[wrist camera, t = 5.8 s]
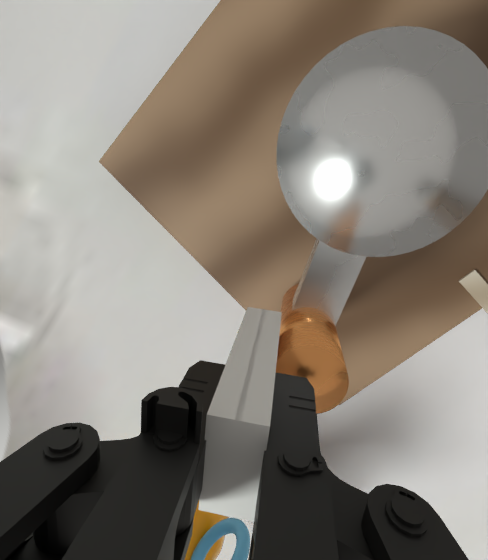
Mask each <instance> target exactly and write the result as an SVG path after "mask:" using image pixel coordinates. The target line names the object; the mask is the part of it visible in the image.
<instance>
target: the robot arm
mask: <svg viewBox="0 0 488 560" xmlns="http://www.w3.org/2000/svg"><path fill="white" fill-rule="evenodd" d="M281 315H282V312H278V311H271V310H265V309H258V308H252V307H248V308H247V310H246V313H245V316H244V318H243V321H242V323H241V326H240V329H239V331H238V334H237V337H236V339H235V342H234V344H233V347H232V350H231V352H230V355H229V357H228V360H227V363H226V365H223V364H218V363H212V362H206V361H199V362H197V363H196V364H194V365H193V366H191V367H190V368H189V369H188V371H187V373H186V375H185V376H184V379H183V380H182V382H181V383H180V385H179V388H178V387H168V388H162V389H158V390H156V391H154V392H151V393H149V394H148V395H147V396H146V397H145V398H144V399H142V408H141V433H140V435H139V436H137V437H134V438H131V439H124V440H111V441H100V439H99V436H98V433H97V431H96V430H95V429H94V428H93V427H91V426H90V425H86V424H82V423H66V424H63V425H59V426H56V427H53V428H51V429H49V430H47V431H45V432H43V433H41V434H40V435H38V436H37V437H35V438H34V439H33V440H31V441H30V442H28V443H27V444H25V445H24V446H23V447H21V448H20V449H18V450H17V451H15V452H14V453H13V454H11V455H10V456H8V457H7V458H5V459H4V460H3V461H1V462H0V560H185V557H186V553H187V550H188V547H189V543H190V540H191V536H192V530H193V520H194V514H195V511H196V508H197V504H198V501H199V508H198V510H201V511H206V512H210V513H215V514H219V515H223V516H228V517H232V518H237V519H241V520H245V521H250V522H254V526H253V534H252V540H251V547H250V553H249V559H248V560H468V558H467V557H466V555H465V554H464V552H463V551H462V549H461V548H460V546H459V545H458V543H457V542H456V540H455V539H454V537H453V536H452V534H451V533H450V531H449V530H448V528H447V527H446V525H445V524H444V522H443V521H442V519H441V518H440V516H439V515H438V514H437V513H436V512H435V510H434V509H433V508H432V507H431V506H430V505H429V503H428V502H426V501H425V500H424V499H422V498H421V497H420V496H418V495H417V494H416V493H414V492H412V491H410V490H408V489H405V488H403V487H401V486H396V485H390V484H385V485H380V486H376V487H375V488H374V489H373V490H372V491H371V492H370V493H369V494H367V493H365V492H363V491H361V490H359V489H357V488H354V487H352V486H350V485H349V484H347V483H345V482H343V481H342V480H340V479H339V478H338V477H336V476H335V475H334V474H333V473H332V472H331V471H330V470H329V469H328V467H327V465H326V462H325V459H324V458H323V457H322V456H321V453H320V446H319V436H318V425H317V414H316V403H315V393H314V388H313V386H312V385H311V384H310V382H309V381H308V379H307V378H305V377H299V376H293V375H287V374H282V373H276V363H277V354H278V344H279V334H280V324H281Z"/></svg>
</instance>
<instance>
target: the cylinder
mask: <svg viewBox="0 0 488 560" xmlns="http://www.w3.org/2000/svg"><path fill="white" fill-rule="evenodd" d="M198 508H199V501H198V504H197V508H196V511H195V514H194V520H193V530H192V536H191V540H190V543H189V547H188V550H187V553H186V557H185V560H215V559H216V558H217V557H218V555H219V553H220V551H221V549H222V546H223V542H224V538H225V535H226V534H229V533H233V534H235V535H236V539H237V542H236V548H235V551H234V554H233V556H232V558H231V560H247V558H248V554H249V549H250V535H249V531H248V529H247V527H246V525H245V524H244V523H243V522H242V521H241V520H239V519H237V518H229V517H228V516H223V515H219V514H215V513H210V512H206V511H201V510H198Z"/></svg>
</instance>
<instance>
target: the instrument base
mask: <svg viewBox="0 0 488 560" xmlns="http://www.w3.org/2000/svg"><path fill="white" fill-rule="evenodd" d="M397 26H412V27H422V28H427V29H432V30H436V31H438V32H441V33H444V34H446V35H449V36H451V37H453V38H454V39H456V40H458V41H459V42H461V43H463V44H464V45H465V46H467V47H468V48H469V49H470V50H471V51H473V52H474V53H475V54H476V55H477V56H478V57H479V59H480V60H481V61H482V62H483V63H484V64H485V65H486V67H487V69H488V0H221V1H220V2H219V3H218V5H217V6H216V7H215V9H214V10H213V11H212V13H211V14H210V15H209V17H208V18H207V19H206V21H205V22H204V23H203V25H202V26H201V27H200V29H199V30H198V31H197V32H196V34H195V35H194V36H193V38H192V39H191V40H190V42H189V43H188V44H187V46H186V47H185V48H184V50H183V51H182V52H181V54H180V55H179V56H178V58H177V59H176V60H175V62H174V63H173V64H172V65H171V67H170V68H169V69H168V71H167V72H166V73H165V75H164V76H163V77H162V79H161V80H160V81H159V83H158V84H157V85H156V87H155V88H154V89H153V91H152V92H151V93H150V95H149V96H148V97H147V99H146V100H145V101H144V102H143V104H142V105H141V106H140V108H139V109H138V110H137V112H136V113H135V114H134V116H133V117H132V118H131V120H130V121H129V122H128V124H127V125H126V126H125V128H124V129H123V130H122V132H121V133H120V134H119V136H118V137H117V138H116V139H115V141H114V142H113V143H112V145H111V146H110V147H109V149H108V150H107V151H106V153H105V154H104V155H103V157H102V158H101V159H100V161H99V162H100V163H101V164H102V165H103V166H104V167H105V168H106V169H107V170H108V171H109V172H110V173H111V174H112V175H113V176H114V177H115V178H116V180H117V181H118V182H119V183H120V184H121V185H122V186H123V187H124V188H125V189H126V190H127V191H128V192H129V193H130V194H131V195H132V196H133V197H134V198H135V199H136V200H137V201H138V202H139V203H140V204H141V205H142V206H143V207H144V208H145V209H146V210H147V211H148V212H149V213H150V214H151V215H152V216H153V217H154V218H155V219H156V220H157V221H158V222H159V223H160V224H161V225H162V226H163V227H164V228H165V229H166V230H167V231H168V232H169V233H170V234H171V235H172V236H173V237H174V238H175V239H176V240H177V241H178V242H179V243H180V244H181V245H182V246H183V247H184V248H185V249H186V250H187V251H188V252H189V253H190V254H191V255H192V256H193V257H194V258H195V259H196V260H197V261H198V262H199V263H200V264H201V265H202V266H203V267H204V268H205V269H206V270H207V272H208V273H209V274H210V275H211V276H212V277H213V278H214V279H215V280H216V281H217V282H218V283H219V284H220V285H221V286H222V287H223V288H224V289H225V290H226V291H227V292H228V293H229V294H230V295H231V296H232V297H233V298H234V299H235V300H236V301H237V302H238V303H239V304H240V305H241V306H242V307H243V308H244V309H245V310H247V308H248V307H252V308H258V309H265V310H271V311H278V312H281V305H282V300H283V297H284V295H285V293H286V292H287V291H288V290H289V289H290V288H291V287H292V286H294V285H297V284H299V282H300V279H301V277H302V274H303V272H304V269H305V267H306V264H307V262H308V259H309V256H310V254H311V251H312V249H313V246H314V244H315V241H316V239H317V238H316V237H314V236H313V235H312V234H310V233H309V232H308V231H307V230H306V229H305V228H304V227H303V226H302V225H301V224H300V222H299V221H298V220H297V218H296V217H295V216H294V214H293V213H292V211H291V209H290V208H289V206H288V204H287V202H286V200H285V197H284V195H283V192H282V190H281V186H280V182H279V178H278V171H277V142H278V134H279V130H280V126H281V122H282V119H283V116H284V113H285V111H286V108H287V106H288V103H289V102H290V100H291V98H292V96H293V94H294V92H295V90H296V89H297V87H298V86H299V85H300V83H301V82H302V80H303V79H304V77H305V76H306V75H307V74H308V73H309V72H310V70H311V69H312V68H313V67H314V66H315V65H316V64H317V63H318V62H319V61H320V60H321V59H323V58H324V57H325V56H326V55H327V54H328V53H330V52H331V51H333V50H334V49H336V48H337V47H338V46H340V45H341V44H343V43H345V42H347V41H349V40H351V39H353V38H355V37H357V36H359V35H362V34H365V33H367V32H370V31H374V30H378V29H382V28H387V27H397ZM482 308H483V309H484V310H485V311H486V312H487V313H488V190H487V191H486V193H485V195H484V196H483V198H482V199H481V201H480V202H479V203H478V205H477V206H476V207H475V208H474V210H473V211H472V212H471V213H470V214H469V215H468V216H467V217H466V218H465V219H464V220H463V221H462V222H461V223H460V224H459V225H458V226H457V227H455V228H454V229H453V230H452V231H450V232H449V233H448V234H446V235H445V236H443V237H442V238H440V239H438V240H437V241H435V242H433V243H431V244H429V245H427V246H425V247H423V248H420V249H417V250H414V251H412V252H409V253H404V254H400V255H396V256H387V257H366V259H365V261H364V263H363V266H362V268H361V270H360V272H359V275H358V277H357V279H356V281H355V284H354V286H353V288H352V290H351V292H350V295H349V297H348V299H347V301H346V304H345V306H344V308H343V310H342V313H341V315H340V317H339V319H338V321H337V324H336V330H337V334H338V338H339V342H340V346H341V349H342V353H343V357H344V361H345V365H346V369H347V373H348V377H349V387H348V391H347V393H346V395H345V397H344V399H343V400H342V401H341V402H340V403H339V405H340V404H342V403H343V402H345V401H346V400H348V399H349V398H351V397H352V396H354V395H355V394H357V393H358V392H359V391H361V390H362V389H364V388H365V387H367V386H368V385H370V384H371V383H373V382H374V381H376V380H377V379H379V378H380V377H382V376H383V375H384V374H386V373H387V372H389V371H390V370H392V369H393V368H395V367H396V366H398V365H399V364H401V363H402V362H404V361H405V360H407V359H408V358H410V357H411V356H412V355H414V354H415V353H417V352H418V351H420V350H421V349H423V348H424V347H426V346H427V345H429V344H430V343H432V342H433V341H435V340H436V339H437V338H439V337H440V336H442V335H443V334H445V333H446V332H448V331H449V330H451V329H452V328H454V327H455V326H457V325H458V324H460V323H461V322H462V321H464V320H465V319H467V318H468V317H470V316H471V315H473V314H474V313H476V312H477V311H479V310H480V309H482Z"/></svg>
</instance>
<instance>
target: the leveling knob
mask: <svg viewBox="0 0 488 560" xmlns="http://www.w3.org/2000/svg"><path fill="white" fill-rule="evenodd" d="M277 171H278V178H279V182H280V186H281V190H282V192H283V195H284V197H285V200H286V202H287V204H288V206H289V208H290V209H291V211H292V213H293V214H294V216H295V217H296V218H297V220H298V221H299V222H300V224H301V225H302V226H303V227H304V228H305V229H306V230H307V231H308V232H309V233H310V234H312V235H313V236H314V237H316V238H317V239H316V241H315V244H314V246H313V249H312V251H311V254H310V256H309V259H308V262H307V264H306V267H305V269H304V272H303V274H302V277H301V279H300V282H299V284H297V285H294V286H292V287H291V288H290V289H289V290H288V291H287V292H286V293H285V295H284V297H283V300H282V305H281V312H282V315H281V324H280V334H279V344H278V354H277V363H276V373H282V374H287V375H293V376H299V377H305V378H307V379H308V381H309V382H310V384H311V385H312V386H313V388H314V393H315V403H316V414H318V413H323V412H326V411H329V410H331V409H333V408H334V407H336V406H337V405H338V404H339V403H340V402H341V401H342V400H343V399H344V397H345V395H346V393H347V391H348V387H349V377H348V373H347V369H346V365H345V361H344V357H343V353H342V349H341V346H340V342H339V338H338V334H337V330H336V324H337V321H338V319H339V317H340V315H341V313H342V310H343V308H344V306H345V304H346V301H347V299H348V297H349V295H350V292H351V290H352V288H353V286H354V284H355V281H356V279H357V277H358V275H359V272H360V270H361V268H362V266H363V263H364V261H365V259H366V257H387V256H396V255H400V254H404V253H409V252H412V251H414V250H417V249H420V248H423V247H425V246H427V245H429V244H431V243H433V242H435V241H437V240H438V239H440V238H442V237H443V236H445V235H446V234H448V233H449V232H450V231H452V230H453V229H454V228H455V227H457V226H458V225H459V224H460V223H461V222H462V221H463V220H464V219H465V218H466V217H467V216H468V215H469V214H470V213H471V212H472V211H473V210H474V208H475V207H476V206H477V205H478V203H479V202H480V201H481V199H482V198H483V196H484V195H485V193H486V191H487V190H488V69H487V67H486V65H485V64H484V63H483V62H482V61H481V60H480V59H479V57H478V56H477V55H476V54H475V53H474V52H473V51H471V50H470V49H469V48H468V47H467V46H465V45H464V44H463V43H461V42H459V41H458V40H456V39H454V38H453V37H451V36H449V35H446V34H444V33H441V32H438V31H436V30H432V29H427V28H422V27H412V26H397V27H387V28H382V29H378V30H374V31H370V32H367V33H365V34H362V35H359V36H357V37H355V38H353V39H351V40H349V41H347V42H345V43H343V44H341V45H340V46H338V47H337V48H336V49H334V50H333V51H331V52H330V53H328V54H327V55H326V56H325V57H324V58H323V59H321V60H320V61H319V62H318V63H317V64H316V65H315V66H314V67H313V68H312V69H311V70H310V72H309V73H308V74H307V75H306V76H305V77H304V79H303V80H302V82H301V83H300V85H299V86H298V87H297V89H296V90H295V92H294V94H293V96H292V98H291V100H290V102H289V103H288V106H287V108H286V111H285V113H284V116H283V119H282V122H281V126H280V130H279V134H278V142H277Z"/></svg>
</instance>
